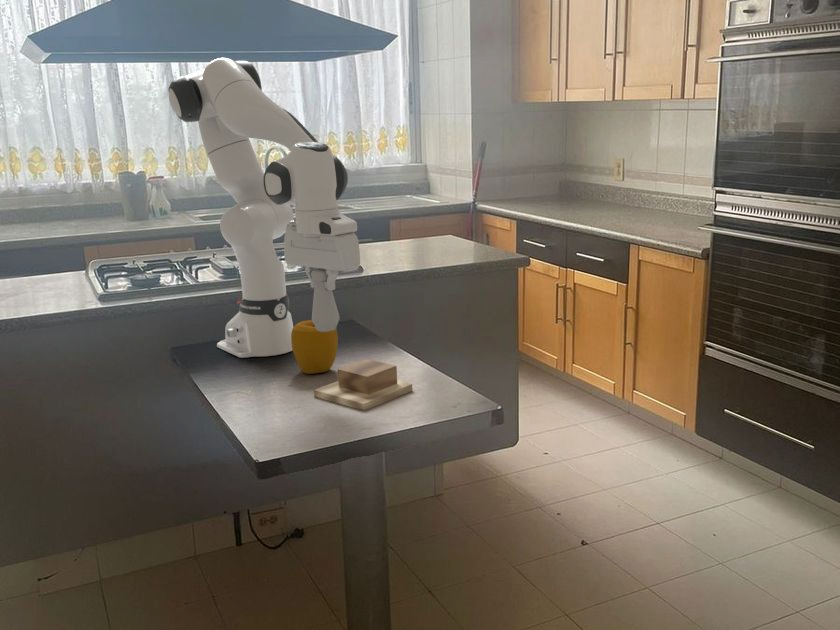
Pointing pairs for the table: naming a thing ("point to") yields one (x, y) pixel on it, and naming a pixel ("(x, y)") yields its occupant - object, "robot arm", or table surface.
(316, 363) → the apple
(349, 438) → the table surface
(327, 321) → the salt shaker
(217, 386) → the table surface
